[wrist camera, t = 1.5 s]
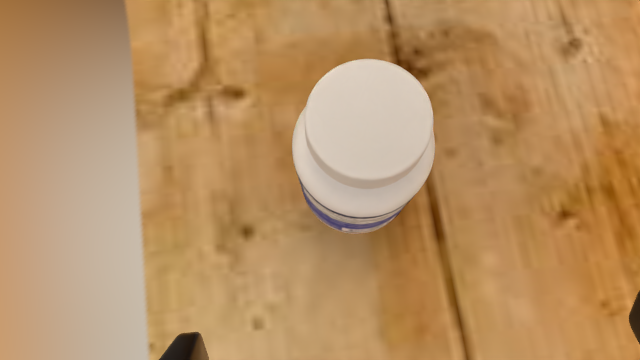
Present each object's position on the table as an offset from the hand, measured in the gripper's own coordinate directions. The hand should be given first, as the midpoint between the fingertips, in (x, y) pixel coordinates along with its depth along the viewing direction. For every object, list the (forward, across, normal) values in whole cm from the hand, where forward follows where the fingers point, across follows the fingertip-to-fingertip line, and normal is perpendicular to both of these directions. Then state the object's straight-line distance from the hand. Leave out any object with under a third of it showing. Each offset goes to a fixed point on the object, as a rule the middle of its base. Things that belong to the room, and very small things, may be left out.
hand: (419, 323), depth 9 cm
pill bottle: (+13, 0, +5) cm, 14 cm away
